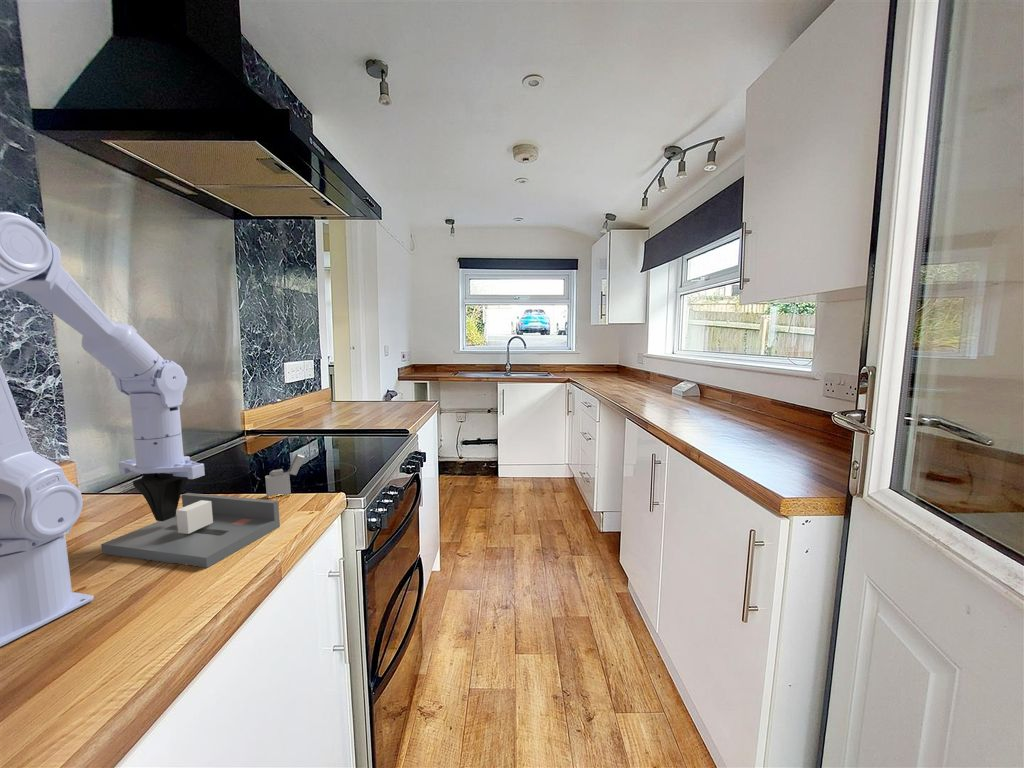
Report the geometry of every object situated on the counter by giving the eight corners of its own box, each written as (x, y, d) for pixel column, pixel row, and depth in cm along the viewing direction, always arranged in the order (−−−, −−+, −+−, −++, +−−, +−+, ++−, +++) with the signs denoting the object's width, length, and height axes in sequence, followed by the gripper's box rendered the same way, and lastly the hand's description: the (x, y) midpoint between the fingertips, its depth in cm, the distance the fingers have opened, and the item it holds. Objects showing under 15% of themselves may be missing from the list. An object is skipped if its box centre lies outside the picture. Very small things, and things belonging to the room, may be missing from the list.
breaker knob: (188, 533, 61) (186, 511, 61) (178, 532, 62) (176, 510, 61) (213, 522, 65) (211, 501, 65) (203, 521, 66) (201, 500, 65)
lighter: (267, 498, 81) (264, 459, 80) (266, 496, 82) (263, 458, 81) (306, 490, 85) (304, 453, 84) (305, 488, 86) (302, 452, 85)
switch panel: (207, 568, 55) (204, 536, 55) (102, 553, 59) (98, 524, 59) (279, 526, 68) (278, 500, 68) (189, 517, 72) (187, 492, 72)
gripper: (219, 432, 66) (225, 512, 67) (149, 428, 69) (157, 505, 70) (175, 442, 59) (183, 531, 60) (99, 438, 62) (109, 522, 63)
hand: (166, 518), depth 65 cm, fingers closed
